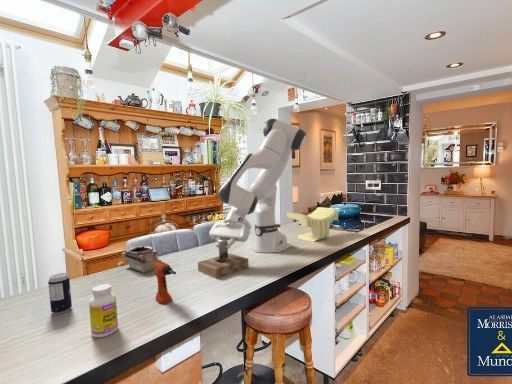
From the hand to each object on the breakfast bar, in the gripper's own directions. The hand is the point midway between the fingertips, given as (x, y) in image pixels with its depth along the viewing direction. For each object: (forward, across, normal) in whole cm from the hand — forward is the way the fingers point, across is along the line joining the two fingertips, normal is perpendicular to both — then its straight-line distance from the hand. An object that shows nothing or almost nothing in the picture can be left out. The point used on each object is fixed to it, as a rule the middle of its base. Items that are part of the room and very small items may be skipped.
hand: (222, 247), depth 125 cm
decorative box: (+19, -39, -4) cm, 44 cm away
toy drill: (+32, +3, -17) cm, 37 cm away
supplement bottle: (+46, 0, -32) cm, 56 cm away
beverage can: (+46, -26, -31) cm, 61 cm away
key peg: (+3, 0, +4) cm, 5 cm away
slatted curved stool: (-42, +18, +57) cm, 73 cm away
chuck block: (+7, 0, +8) cm, 10 cm away
